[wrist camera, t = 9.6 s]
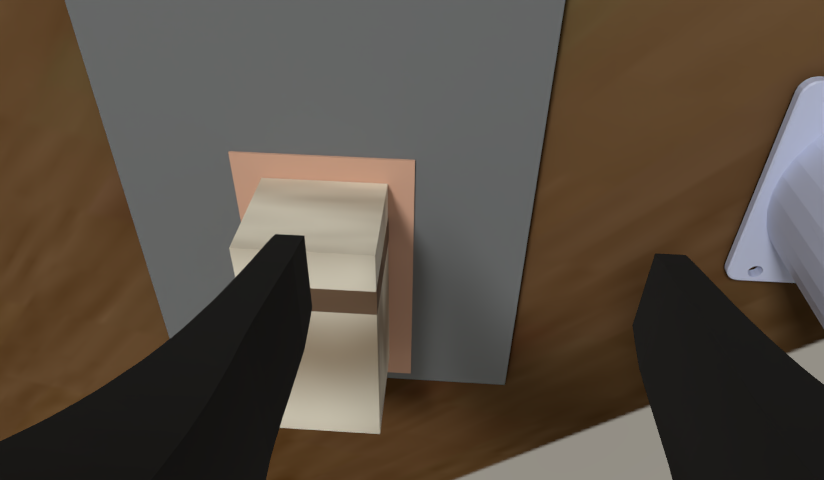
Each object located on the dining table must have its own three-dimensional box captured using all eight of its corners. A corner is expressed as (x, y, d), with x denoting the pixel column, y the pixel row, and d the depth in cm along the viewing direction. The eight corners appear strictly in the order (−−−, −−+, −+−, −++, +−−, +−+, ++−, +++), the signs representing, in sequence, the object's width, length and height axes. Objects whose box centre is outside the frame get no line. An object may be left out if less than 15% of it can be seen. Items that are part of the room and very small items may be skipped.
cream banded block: (390, 356, 28) (380, 434, 25) (287, 350, 28) (265, 427, 25) (388, 183, 23) (375, 256, 20) (261, 177, 23) (228, 248, 20)
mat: (611, -317, 15) (616, -318, 14) (504, 377, 29) (504, 386, 29) (-27, -325, 15) (-40, -328, 15) (181, 358, 30) (177, 366, 30)
